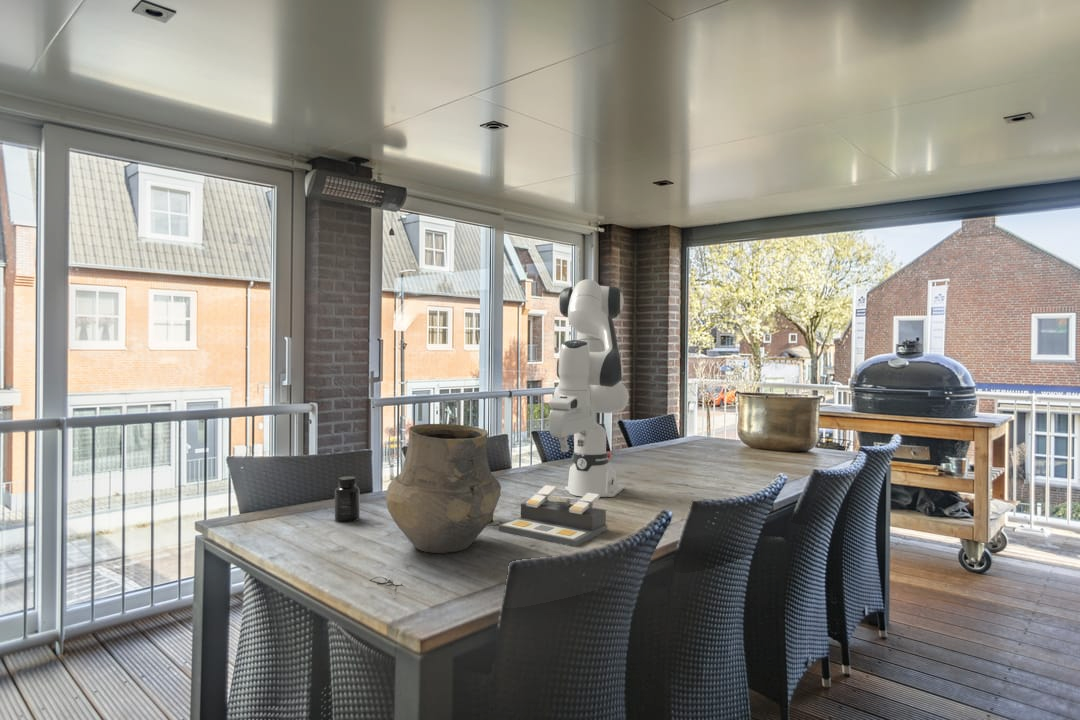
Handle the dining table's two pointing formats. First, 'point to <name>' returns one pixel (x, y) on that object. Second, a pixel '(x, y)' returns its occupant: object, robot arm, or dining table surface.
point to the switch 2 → (562, 500)
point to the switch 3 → (584, 503)
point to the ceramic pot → (443, 488)
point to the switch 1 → (541, 496)
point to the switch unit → (557, 523)
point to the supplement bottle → (347, 500)
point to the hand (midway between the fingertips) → (573, 448)
